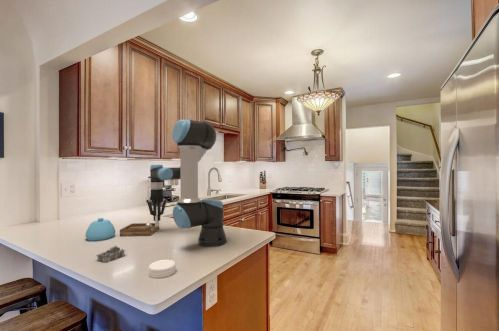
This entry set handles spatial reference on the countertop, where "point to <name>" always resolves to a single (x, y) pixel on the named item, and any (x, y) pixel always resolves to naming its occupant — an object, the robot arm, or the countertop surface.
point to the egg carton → (111, 254)
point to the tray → (138, 230)
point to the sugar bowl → (100, 230)
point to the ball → (148, 225)
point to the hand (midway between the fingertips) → (157, 225)
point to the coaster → (162, 268)
